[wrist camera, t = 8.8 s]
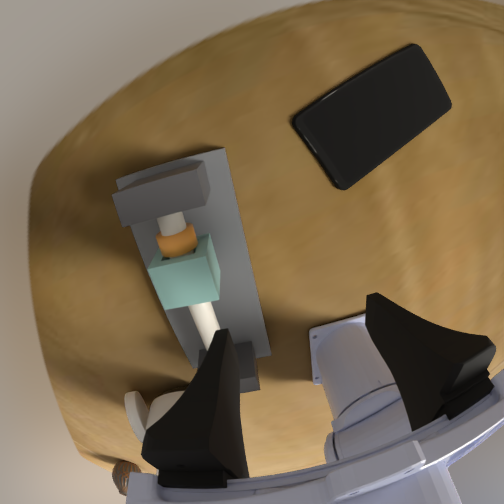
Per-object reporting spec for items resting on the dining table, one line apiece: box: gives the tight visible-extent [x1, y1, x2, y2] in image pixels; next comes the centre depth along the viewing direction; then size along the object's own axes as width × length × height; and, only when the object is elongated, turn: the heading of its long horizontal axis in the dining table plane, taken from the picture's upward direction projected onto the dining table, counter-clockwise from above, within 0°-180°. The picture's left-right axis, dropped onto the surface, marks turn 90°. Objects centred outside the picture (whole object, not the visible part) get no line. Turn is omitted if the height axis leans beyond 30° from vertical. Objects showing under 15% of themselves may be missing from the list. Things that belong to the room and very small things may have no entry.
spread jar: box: [124, 387, 187, 475], centre depth 24 cm, size 12×11×12 cm
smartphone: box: [292, 44, 452, 190], centre depth 17 cm, size 7×1×15 cm
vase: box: [112, 461, 142, 496], centre depth 37 cm, size 7×7×9 cm
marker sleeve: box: [148, 233, 220, 310], centre depth 17 cm, size 3×4×4 cm
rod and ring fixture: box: [112, 148, 272, 393], centre depth 20 cm, size 19×8×6 cm, turn 11°
